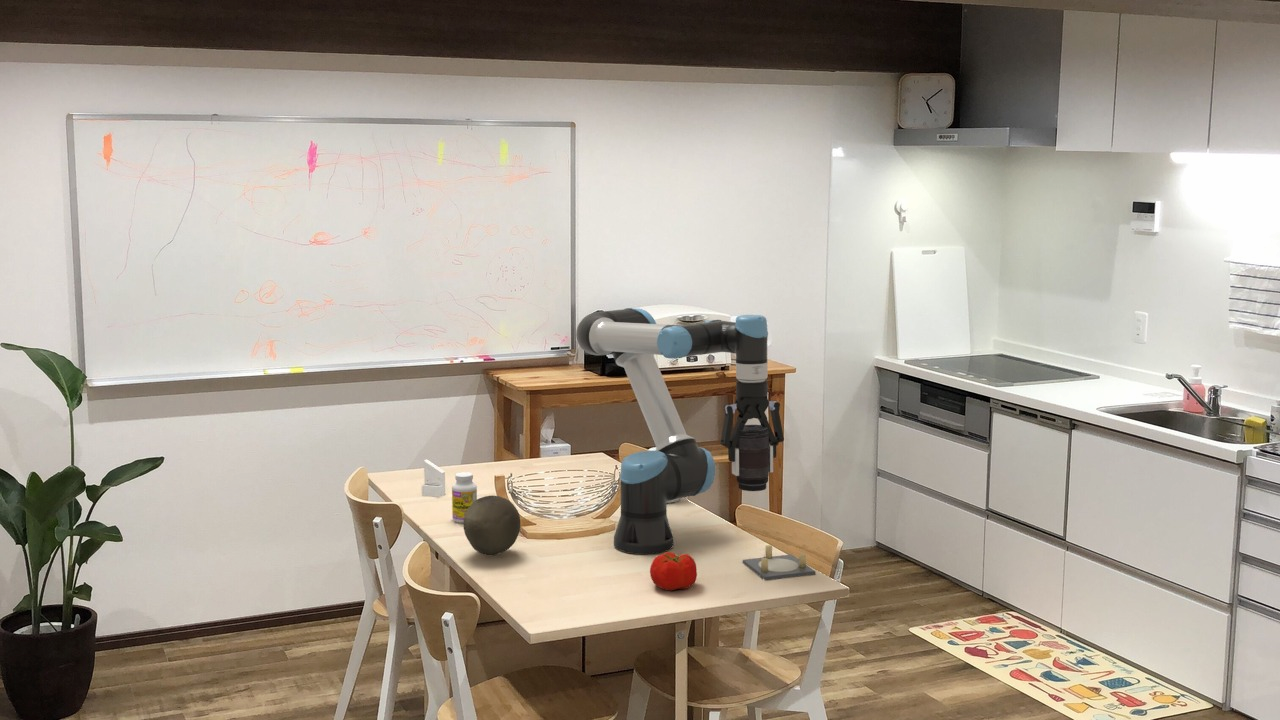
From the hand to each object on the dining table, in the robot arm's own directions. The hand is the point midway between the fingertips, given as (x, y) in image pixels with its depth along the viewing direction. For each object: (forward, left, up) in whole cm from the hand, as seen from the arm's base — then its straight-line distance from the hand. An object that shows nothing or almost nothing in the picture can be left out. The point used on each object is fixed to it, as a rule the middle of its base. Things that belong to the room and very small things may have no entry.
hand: (752, 472), depth 297 cm
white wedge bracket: (-64, +83, -22) cm, 108 cm away
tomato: (-24, -12, -22) cm, 35 cm away
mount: (+4, -8, -22) cm, 24 cm away
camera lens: (0, 0, -4) cm, 4 cm away
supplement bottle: (-60, +55, -22) cm, 85 cm away
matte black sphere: (-59, +23, -22) cm, 67 cm away
